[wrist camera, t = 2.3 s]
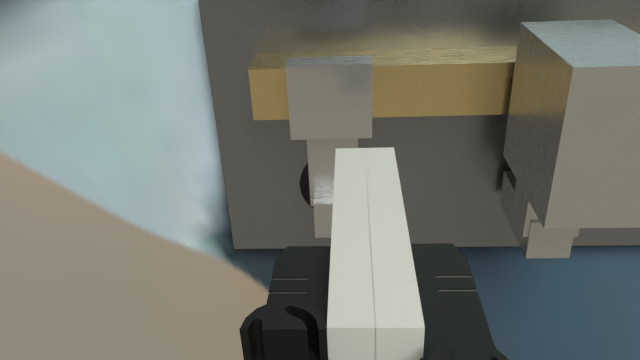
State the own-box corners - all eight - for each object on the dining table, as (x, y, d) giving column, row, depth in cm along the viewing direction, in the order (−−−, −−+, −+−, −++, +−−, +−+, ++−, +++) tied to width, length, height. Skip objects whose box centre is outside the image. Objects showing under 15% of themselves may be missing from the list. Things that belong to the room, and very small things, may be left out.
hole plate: (203, -14, 22) (196, -9, 21) (958, -43, 20) (989, -38, 19) (237, 237, 28) (233, 250, 27) (827, 230, 26) (846, 244, 25)
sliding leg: (504, 8, 20) (573, 67, 14) (587, 6, 20) (694, 64, 14) (482, 200, 24) (528, 311, 18) (551, 200, 24) (622, 311, 18)
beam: (254, 44, 22) (242, 67, 19) (926, 23, 20) (1012, 45, 18) (270, 200, 25) (261, 238, 23) (845, 192, 24) (907, 231, 21)
